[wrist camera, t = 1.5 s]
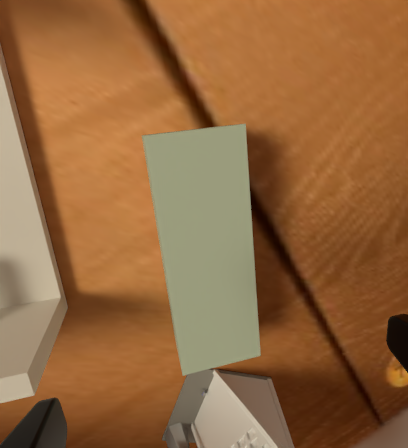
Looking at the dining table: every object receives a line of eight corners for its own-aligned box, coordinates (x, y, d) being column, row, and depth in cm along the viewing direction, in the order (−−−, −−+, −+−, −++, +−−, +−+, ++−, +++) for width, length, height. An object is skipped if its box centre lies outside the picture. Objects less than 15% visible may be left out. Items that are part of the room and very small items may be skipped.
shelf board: (240, 319, 23) (260, 355, 19) (174, 334, 22) (182, 375, 18) (223, 125, 19) (245, 123, 15) (141, 135, 18) (143, 135, 14)
